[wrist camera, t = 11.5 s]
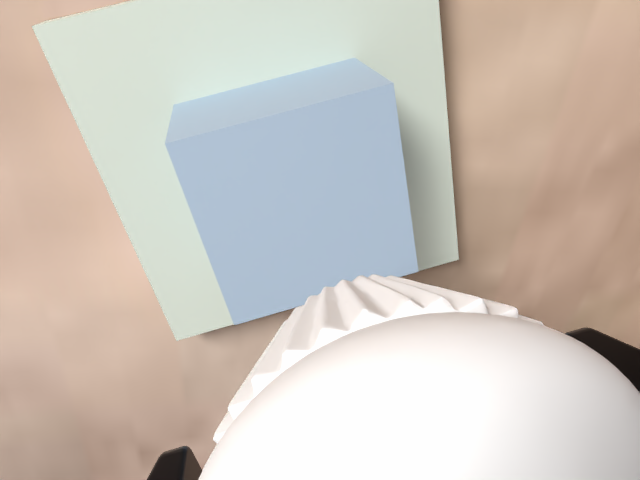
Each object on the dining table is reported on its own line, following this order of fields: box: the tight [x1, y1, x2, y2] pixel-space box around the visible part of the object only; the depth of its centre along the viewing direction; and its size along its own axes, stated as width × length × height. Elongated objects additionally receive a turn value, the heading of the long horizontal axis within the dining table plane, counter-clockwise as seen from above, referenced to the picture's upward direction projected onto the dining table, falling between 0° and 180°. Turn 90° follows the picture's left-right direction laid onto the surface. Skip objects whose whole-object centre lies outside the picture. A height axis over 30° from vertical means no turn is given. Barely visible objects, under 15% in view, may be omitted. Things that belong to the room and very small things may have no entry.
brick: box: [165, 58, 418, 325], centre depth 16 cm, size 6×6×4 cm
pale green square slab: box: [32, 0, 459, 341], centre depth 19 cm, size 12×12×2 cm
